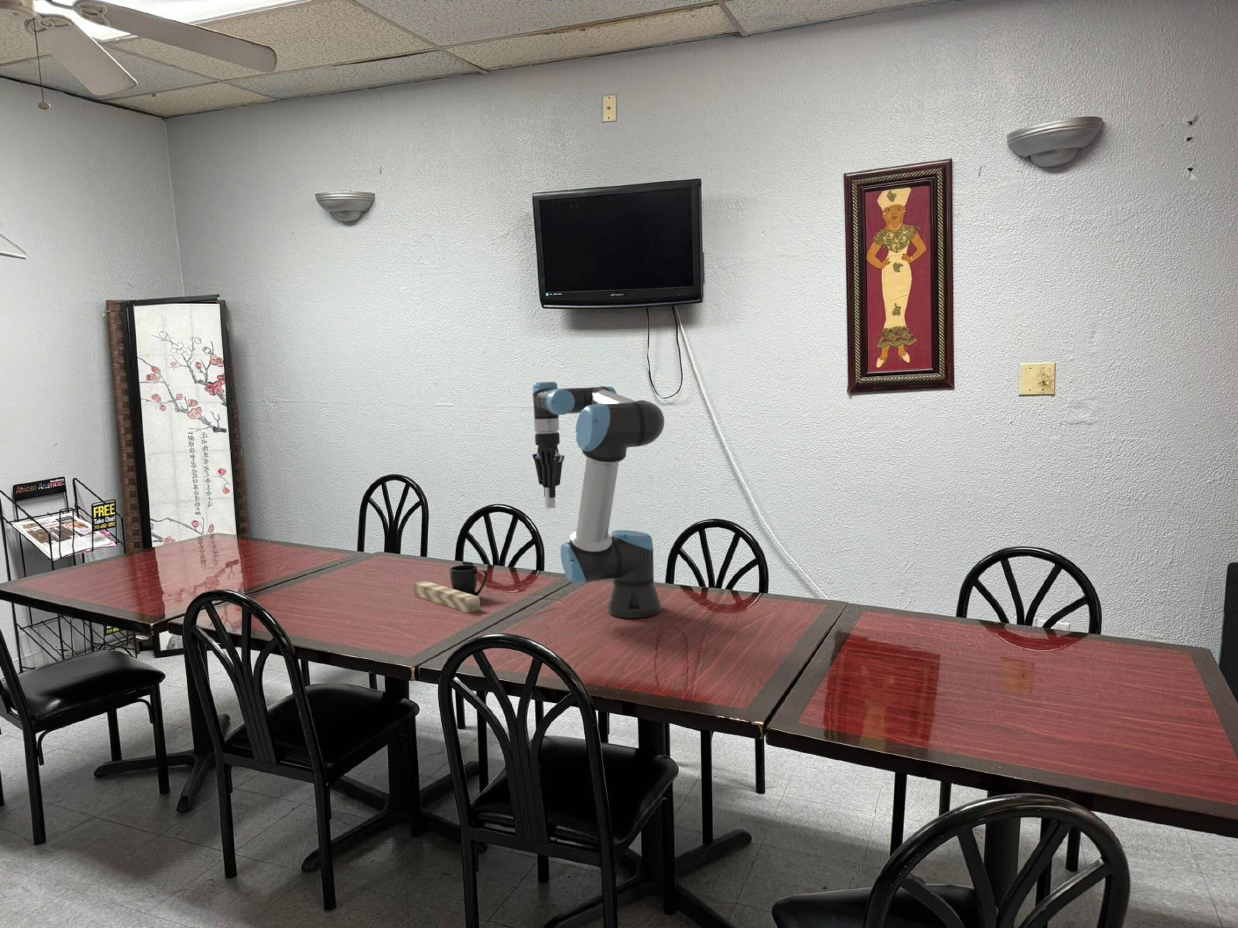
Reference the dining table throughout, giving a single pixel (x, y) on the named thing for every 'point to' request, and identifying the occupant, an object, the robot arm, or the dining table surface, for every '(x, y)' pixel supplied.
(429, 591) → the wooden bar
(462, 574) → the mug
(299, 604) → the dining table surface
